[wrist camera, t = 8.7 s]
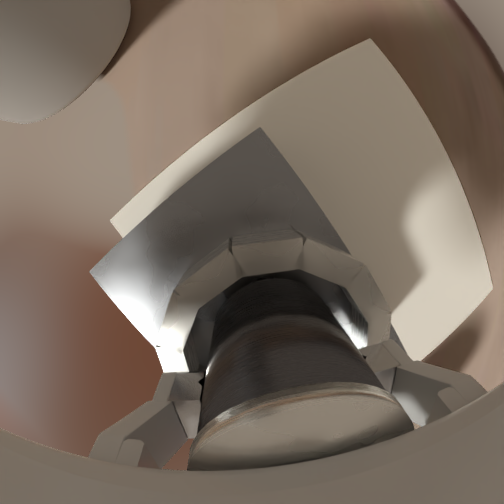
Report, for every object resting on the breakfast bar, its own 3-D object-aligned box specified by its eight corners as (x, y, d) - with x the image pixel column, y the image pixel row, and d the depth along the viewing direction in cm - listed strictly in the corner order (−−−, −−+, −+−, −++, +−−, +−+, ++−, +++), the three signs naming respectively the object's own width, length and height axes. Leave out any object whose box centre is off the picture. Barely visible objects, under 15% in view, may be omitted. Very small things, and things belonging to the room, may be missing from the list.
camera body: (378, 327, 17) (429, 385, 11) (271, 398, 18) (282, 473, 12) (253, 145, 14) (264, 114, 8) (129, 246, 15) (68, 285, 9)
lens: (346, 282, 11) (451, 387, 4) (317, 384, 12) (362, 506, 5) (216, 268, 11) (184, 394, 4) (206, 377, 12) (189, 513, 5)
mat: (490, 286, 18) (492, 288, 17) (311, 430, 20) (312, 433, 19) (367, 40, 13) (370, 38, 13) (112, 219, 15) (109, 220, 15)
